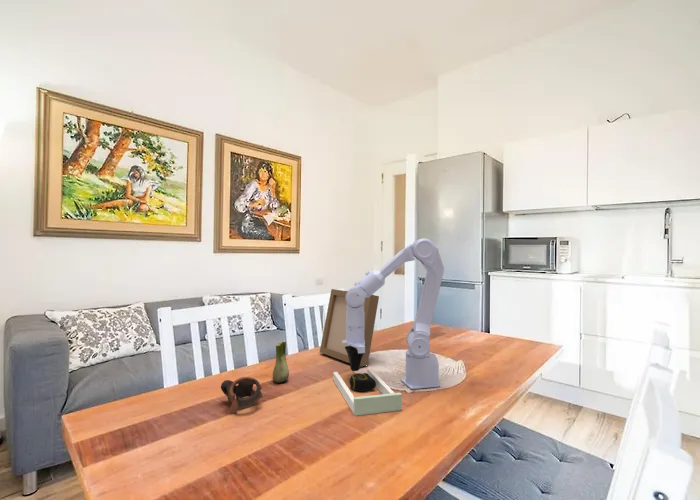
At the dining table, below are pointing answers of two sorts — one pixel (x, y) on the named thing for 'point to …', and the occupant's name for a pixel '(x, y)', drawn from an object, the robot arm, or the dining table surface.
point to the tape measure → (362, 382)
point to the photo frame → (337, 326)
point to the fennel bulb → (280, 364)
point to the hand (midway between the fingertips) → (354, 370)
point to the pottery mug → (241, 392)
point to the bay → (370, 397)
